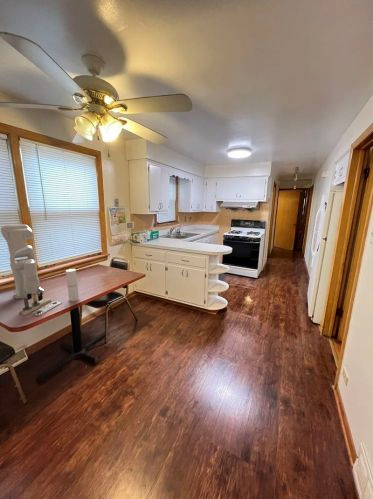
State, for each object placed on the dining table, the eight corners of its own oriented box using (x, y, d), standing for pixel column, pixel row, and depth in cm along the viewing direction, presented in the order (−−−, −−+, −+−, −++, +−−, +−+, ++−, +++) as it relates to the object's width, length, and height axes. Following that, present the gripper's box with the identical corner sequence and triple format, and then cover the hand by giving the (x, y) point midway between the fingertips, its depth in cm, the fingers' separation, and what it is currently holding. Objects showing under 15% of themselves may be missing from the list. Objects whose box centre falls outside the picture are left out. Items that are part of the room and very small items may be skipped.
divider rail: (19, 314, 148) (17, 301, 145) (45, 300, 169) (44, 289, 167) (25, 315, 147) (23, 302, 145) (51, 301, 168) (49, 289, 166)
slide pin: (31, 305, 156) (29, 293, 154) (35, 303, 159) (33, 292, 157) (36, 305, 155) (35, 294, 153) (40, 303, 158) (38, 292, 156)
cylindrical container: (67, 300, 169) (63, 271, 164) (74, 296, 176) (71, 268, 171) (73, 301, 167) (70, 272, 162) (80, 298, 174) (77, 269, 168)
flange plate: (31, 314, 147) (31, 313, 147) (54, 302, 166) (54, 301, 166) (40, 316, 146) (39, 314, 145) (61, 303, 165) (61, 301, 164)
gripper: (17, 279, 151) (21, 300, 154) (37, 280, 147) (40, 303, 151) (26, 275, 158) (30, 296, 161) (46, 277, 155) (49, 298, 158)
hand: (35, 299), depth 156 cm, fingers open, 9 cm apart
